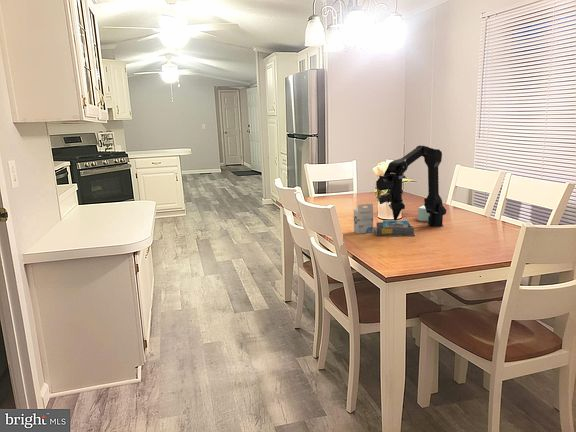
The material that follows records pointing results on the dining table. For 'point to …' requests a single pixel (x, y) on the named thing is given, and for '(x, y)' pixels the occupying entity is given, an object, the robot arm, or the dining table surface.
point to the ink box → (363, 219)
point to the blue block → (394, 224)
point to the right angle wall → (422, 214)
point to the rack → (394, 231)
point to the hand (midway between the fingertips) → (395, 220)
